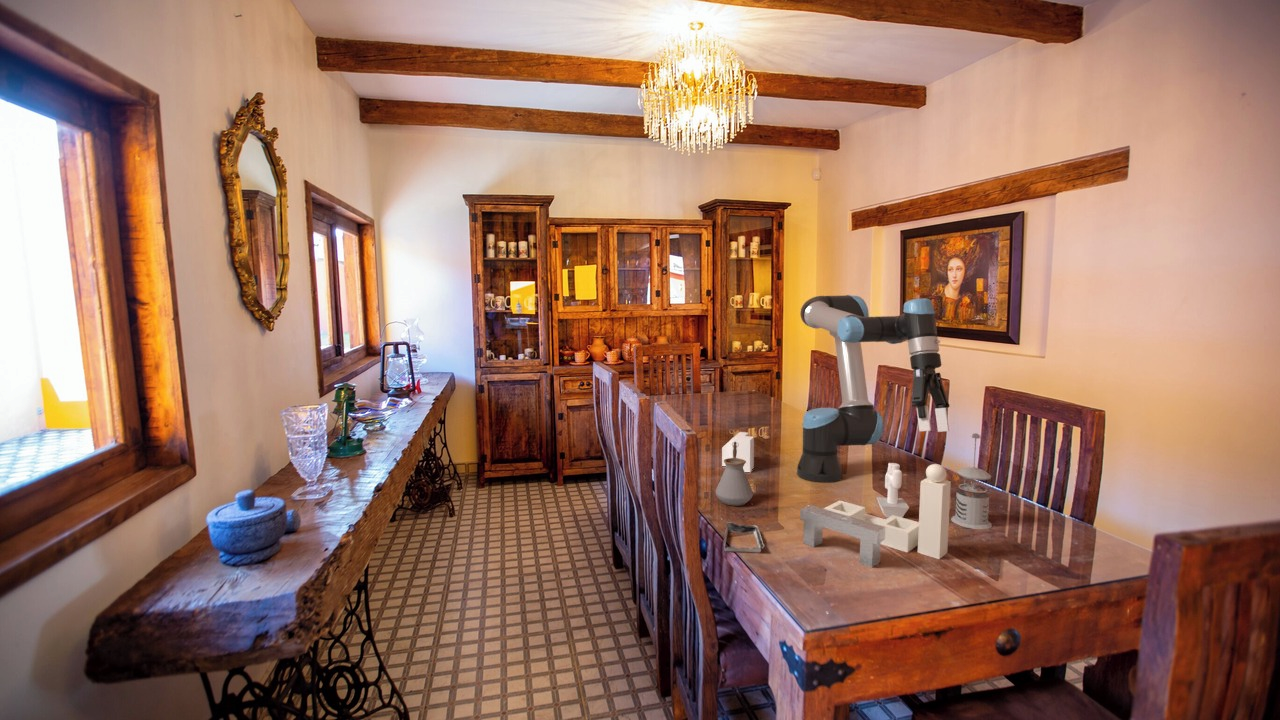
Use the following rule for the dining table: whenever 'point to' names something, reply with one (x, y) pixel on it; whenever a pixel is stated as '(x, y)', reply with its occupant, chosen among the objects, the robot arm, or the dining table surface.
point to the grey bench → (843, 531)
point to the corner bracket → (740, 450)
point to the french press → (972, 499)
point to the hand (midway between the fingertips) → (934, 431)
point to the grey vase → (734, 482)
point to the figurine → (893, 493)
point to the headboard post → (908, 532)
